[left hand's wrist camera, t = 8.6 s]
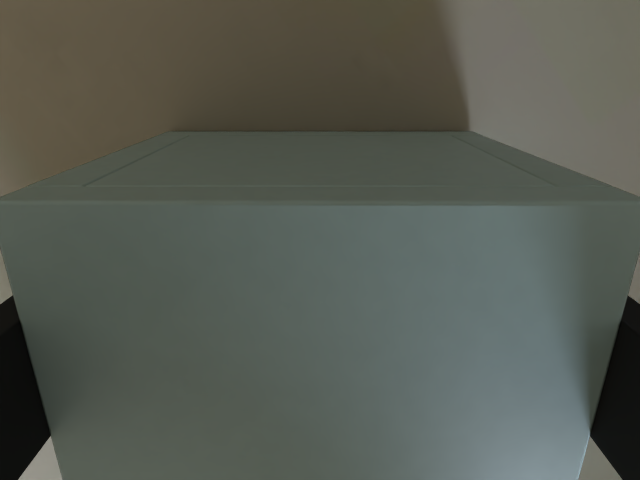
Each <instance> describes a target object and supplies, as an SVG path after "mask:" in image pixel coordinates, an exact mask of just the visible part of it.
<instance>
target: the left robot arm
mask: <svg viewBox="0 0 640 480" xmlns="http://www.w3.org/2000/svg"><path fill="white" fill-rule="evenodd" d="M50 436H51V434H50V431H49V427H48V423H47V420H46V416H45V412H44V408H43V405H42V401H41V397H40V394H39V390H38V386H37V382H36V379H35V375H34V371H33V367H32V364H31V360H30V356H29V353H28V349H27V345H26V341H25V338H24V334H23V330H22V327H21V323H20V319H19V315H18V312H17V308H16V304H15V301H14V297H13V296H11V297H10V298H9V299H7V300H6V301H4V302H3V303H2V304H0V480H18V479H19V477H20V476H21V475H22V473H23V472H24V471H25V469H26V468H27V467H28V465H29V464H30V463H31V461H32V460H33V459H34V457H35V456H36V455H37V453H38V452H39V451H40V449H41V448H42V447H43V445H44V444H45V443H46V441H47V440H48V438H49V437H50ZM590 436H591V438H592V439H593V441H594V442H595V443H596V445H597V446H598V447H599V449H600V450H601V451H602V453H603V454H604V455H605V457H606V458H607V459H608V461H609V462H610V463H611V465H612V466H613V467H614V469H615V470H616V471H617V473H618V474H619V475H620V477H621V478H622V479H623V480H640V304H639V303H638V302H636V301H635V300H633V299H632V298H631V297H629V296H627V300H626V304H625V307H624V311H623V315H622V318H621V322H620V326H619V329H618V333H617V337H616V341H615V344H614V348H613V352H612V355H611V359H610V363H609V367H608V370H607V374H606V378H605V381H604V385H603V389H602V392H601V396H600V400H599V404H598V407H597V411H596V415H595V418H594V422H593V426H592V429H591V433H590Z"/></svg>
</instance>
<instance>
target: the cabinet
mask: <svg viewBox="0 0 640 480" xmlns="http://www.w3.org/2000/svg"><path fill="white" fill-rule="evenodd" d="M0 248H1V252H2V256H3V260H4V263H5V267H6V271H7V274H8V278H9V282H10V286H11V289H12V293H13V297H14V301H15V304H16V308H17V312H18V315H19V319H20V323H21V327H22V330H23V334H24V338H25V341H26V345H27V349H28V353H29V356H30V360H31V364H32V367H33V371H34V375H35V379H36V382H37V386H38V390H39V394H40V397H41V401H42V405H43V408H44V412H45V416H46V420H47V423H48V427H49V431H50V434H51V438H52V442H53V446H54V449H55V453H56V457H57V460H58V464H59V468H60V472H61V475H62V479H63V480H578V478H579V474H580V470H581V466H582V463H583V459H584V455H585V452H586V448H587V444H588V441H589V437H590V433H591V429H592V426H593V422H594V418H595V415H596V411H597V407H598V404H599V400H600V396H601V392H602V389H603V385H604V381H605V378H606V374H607V370H608V367H609V363H610V359H611V355H612V352H613V348H614V344H615V341H616V337H617V333H618V329H619V326H620V322H621V318H622V315H623V311H624V307H625V304H626V300H627V296H628V292H629V289H630V285H631V281H632V278H633V274H634V270H635V267H636V263H637V259H638V255H639V252H640V197H639V196H636V195H634V194H631V193H628V192H626V191H623V190H621V189H618V188H616V187H612V186H611V185H608V184H606V183H603V182H600V181H598V180H595V179H593V178H590V177H588V176H585V175H582V174H580V173H577V172H575V171H572V170H570V169H567V168H564V167H562V166H559V165H557V164H554V163H552V162H549V161H546V160H544V159H541V158H539V157H536V156H533V155H531V154H528V153H526V152H523V151H521V150H518V149H515V148H513V147H510V146H508V145H505V144H503V143H500V142H497V141H495V140H492V139H490V138H487V137H484V136H482V135H480V134H477V133H475V132H165V133H163V134H160V135H158V136H155V137H153V138H150V139H148V140H145V141H142V142H140V143H137V144H135V145H132V146H129V147H127V148H124V149H122V150H119V151H117V152H114V153H111V154H109V155H106V156H104V157H101V158H98V159H96V160H93V161H91V162H88V163H85V164H83V165H80V166H78V167H75V168H73V169H70V170H67V171H65V172H62V173H60V174H57V175H54V176H52V177H49V178H47V179H44V180H42V181H39V182H36V183H34V184H31V185H29V186H28V187H25V188H22V189H20V190H17V191H15V192H12V193H9V194H7V195H4V196H2V197H0Z"/></svg>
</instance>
